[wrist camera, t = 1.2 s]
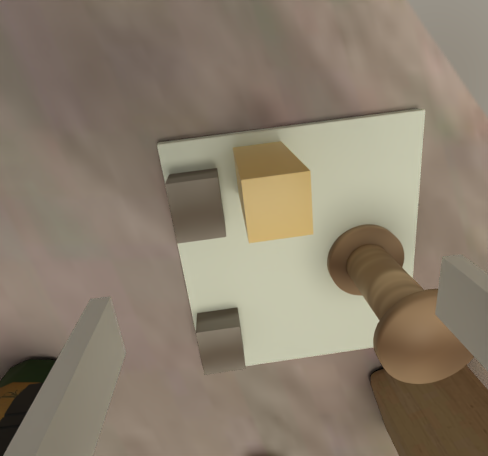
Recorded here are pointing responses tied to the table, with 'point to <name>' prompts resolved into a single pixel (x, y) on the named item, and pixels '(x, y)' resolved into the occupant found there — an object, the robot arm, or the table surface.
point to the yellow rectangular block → (273, 192)
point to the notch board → (203, 228)
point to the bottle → (22, 380)
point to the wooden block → (434, 414)
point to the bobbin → (396, 306)
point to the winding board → (309, 246)
